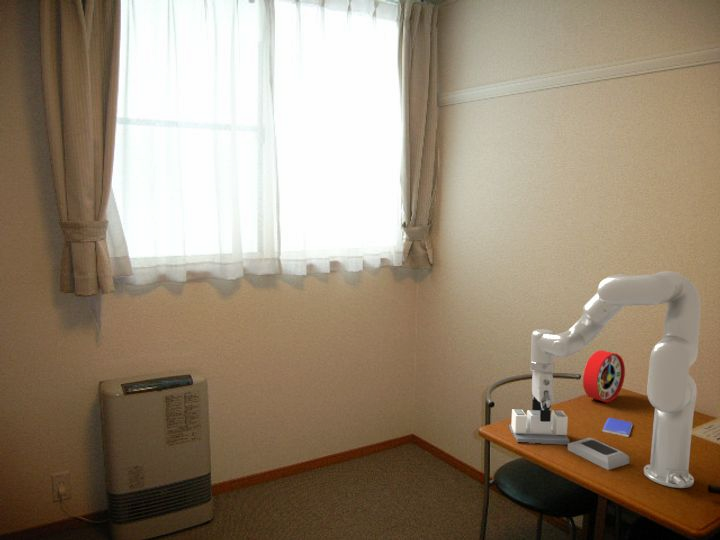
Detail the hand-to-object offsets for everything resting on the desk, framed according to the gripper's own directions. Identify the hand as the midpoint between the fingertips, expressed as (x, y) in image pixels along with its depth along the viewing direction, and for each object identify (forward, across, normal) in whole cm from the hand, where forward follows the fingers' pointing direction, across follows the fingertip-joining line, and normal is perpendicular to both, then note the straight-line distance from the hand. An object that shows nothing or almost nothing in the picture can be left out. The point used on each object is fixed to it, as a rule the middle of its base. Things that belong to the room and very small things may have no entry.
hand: (541, 415), depth 181 cm
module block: (+5, 0, 0) cm, 5 cm away
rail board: (+7, 0, +1) cm, 7 cm away
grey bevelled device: (+8, -13, -14) cm, 21 cm away
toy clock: (+8, +39, -36) cm, 53 cm away
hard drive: (+8, +10, -30) cm, 32 cm away
